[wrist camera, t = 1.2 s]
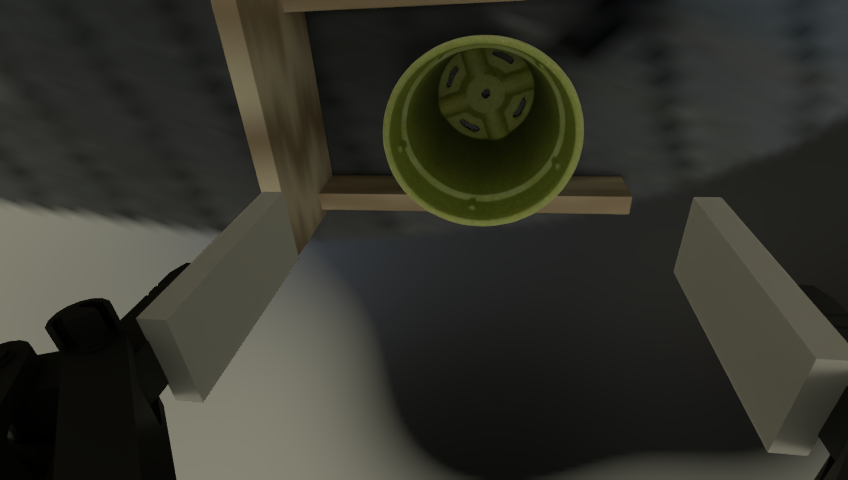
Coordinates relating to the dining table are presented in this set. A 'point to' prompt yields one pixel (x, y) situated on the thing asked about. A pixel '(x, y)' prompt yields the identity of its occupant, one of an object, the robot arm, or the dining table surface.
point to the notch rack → (304, 128)
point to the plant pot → (483, 131)
